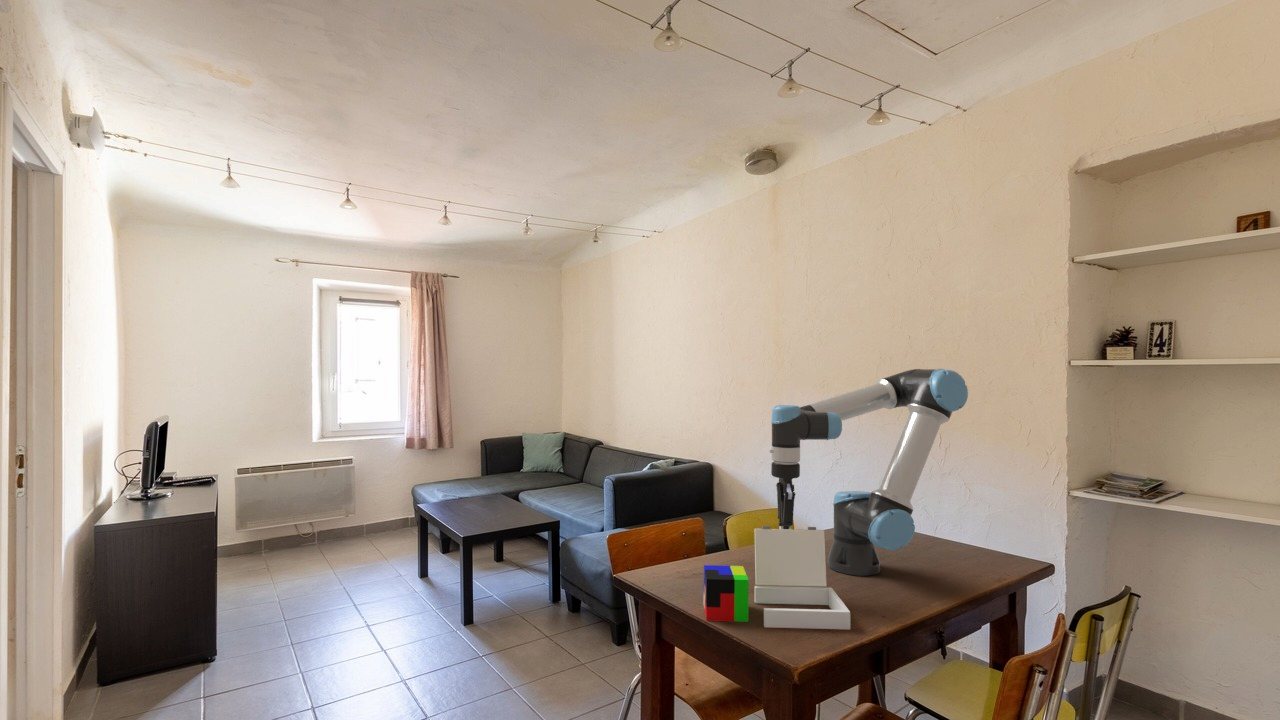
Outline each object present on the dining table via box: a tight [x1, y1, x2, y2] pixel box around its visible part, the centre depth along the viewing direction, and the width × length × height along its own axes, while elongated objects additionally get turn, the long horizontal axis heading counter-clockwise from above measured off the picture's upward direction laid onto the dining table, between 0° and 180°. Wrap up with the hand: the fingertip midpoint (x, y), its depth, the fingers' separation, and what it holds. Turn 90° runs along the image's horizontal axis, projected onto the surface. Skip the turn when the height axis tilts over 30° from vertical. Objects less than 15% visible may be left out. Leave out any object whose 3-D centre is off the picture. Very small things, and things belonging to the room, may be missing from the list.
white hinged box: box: [754, 585, 851, 630], centre depth 146 cm, size 20×15×4 cm
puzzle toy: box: [703, 564, 750, 623], centre depth 147 cm, size 10×10×10 cm
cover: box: [754, 525, 827, 587], centre depth 155 cm, size 18×15×1 cm
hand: (784, 549), depth 162 cm, fingers closed
